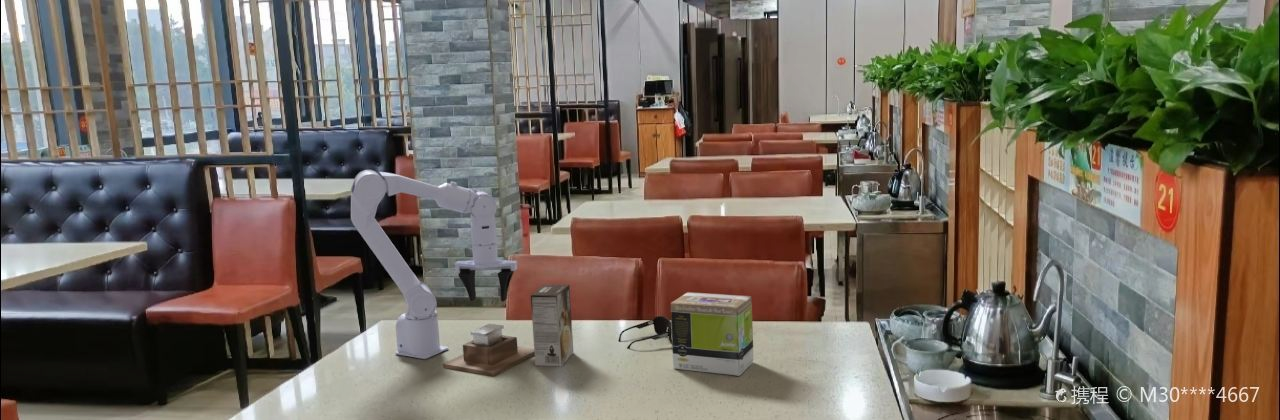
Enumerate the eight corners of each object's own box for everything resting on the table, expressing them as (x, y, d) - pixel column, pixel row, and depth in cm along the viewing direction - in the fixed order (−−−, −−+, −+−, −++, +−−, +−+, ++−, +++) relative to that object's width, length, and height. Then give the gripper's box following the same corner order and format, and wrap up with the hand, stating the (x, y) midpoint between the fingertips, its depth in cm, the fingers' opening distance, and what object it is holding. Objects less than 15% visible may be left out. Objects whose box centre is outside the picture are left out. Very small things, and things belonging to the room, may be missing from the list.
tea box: (754, 362, 186) (753, 295, 183) (739, 377, 177) (738, 307, 174) (689, 354, 192) (687, 289, 190) (671, 369, 183) (669, 301, 181)
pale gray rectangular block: (472, 360, 191) (470, 332, 190) (491, 351, 197) (489, 323, 196) (487, 363, 189) (485, 334, 188) (505, 353, 195) (503, 325, 194)
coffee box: (547, 352, 197) (542, 283, 195) (574, 352, 196) (570, 284, 193) (534, 366, 189) (529, 294, 186) (562, 366, 187) (558, 294, 185)
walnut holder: (443, 367, 190) (441, 347, 189) (489, 345, 204) (488, 327, 203) (493, 376, 183) (491, 356, 183) (537, 353, 197) (536, 334, 196)
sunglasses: (679, 343, 200) (676, 323, 199) (632, 358, 196) (628, 337, 195) (661, 331, 210) (658, 312, 208) (616, 345, 206) (612, 325, 204)
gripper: (448, 247, 199) (452, 304, 202) (509, 246, 197) (513, 304, 199) (459, 240, 206) (463, 296, 208) (518, 240, 204) (521, 296, 206)
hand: (488, 299), depth 204 cm, fingers open, 7 cm apart
